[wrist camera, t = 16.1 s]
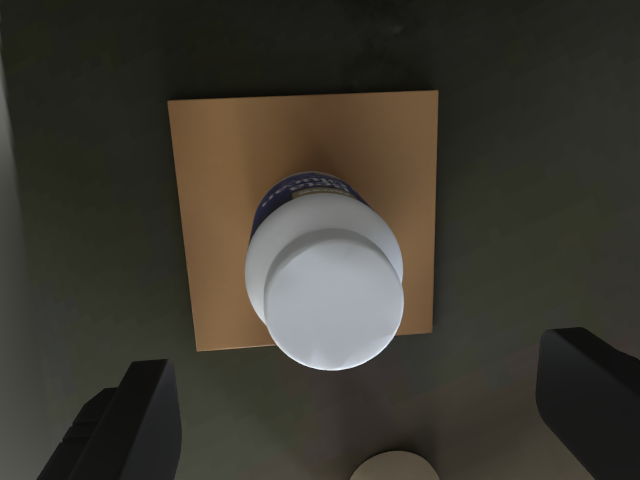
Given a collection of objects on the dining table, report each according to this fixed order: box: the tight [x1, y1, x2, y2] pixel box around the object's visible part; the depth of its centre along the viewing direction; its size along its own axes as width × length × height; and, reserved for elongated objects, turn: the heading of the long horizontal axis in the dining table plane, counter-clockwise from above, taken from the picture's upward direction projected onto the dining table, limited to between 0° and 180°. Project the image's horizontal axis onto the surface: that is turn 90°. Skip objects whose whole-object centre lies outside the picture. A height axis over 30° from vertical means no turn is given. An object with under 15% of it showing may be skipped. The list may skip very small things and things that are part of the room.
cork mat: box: [167, 90, 438, 351], centre depth 23 cm, size 12×12×1 cm
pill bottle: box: [245, 171, 404, 370], centre depth 18 cm, size 5×5×10 cm
